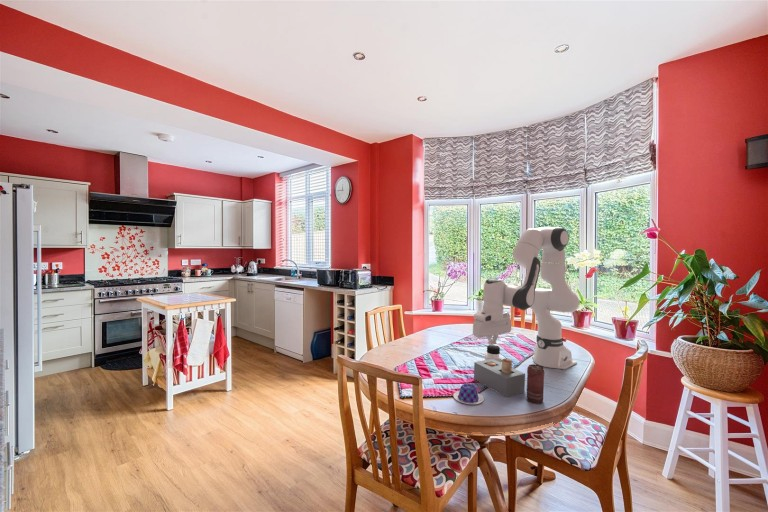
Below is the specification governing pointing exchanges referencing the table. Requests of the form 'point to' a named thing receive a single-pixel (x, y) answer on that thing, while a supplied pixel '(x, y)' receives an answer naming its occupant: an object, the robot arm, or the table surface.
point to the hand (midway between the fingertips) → (492, 344)
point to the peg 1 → (491, 364)
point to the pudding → (468, 394)
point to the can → (535, 383)
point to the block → (499, 378)
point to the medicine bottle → (493, 353)
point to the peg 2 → (506, 366)
